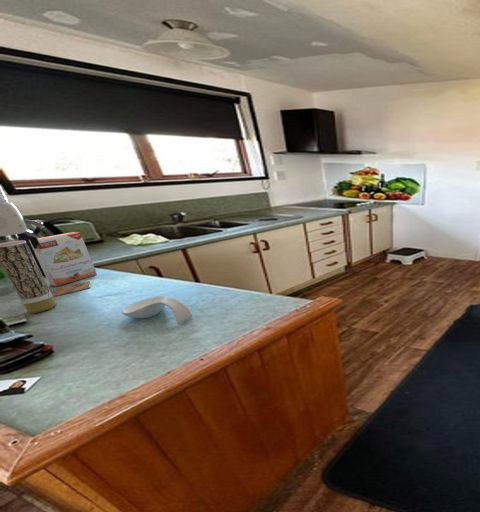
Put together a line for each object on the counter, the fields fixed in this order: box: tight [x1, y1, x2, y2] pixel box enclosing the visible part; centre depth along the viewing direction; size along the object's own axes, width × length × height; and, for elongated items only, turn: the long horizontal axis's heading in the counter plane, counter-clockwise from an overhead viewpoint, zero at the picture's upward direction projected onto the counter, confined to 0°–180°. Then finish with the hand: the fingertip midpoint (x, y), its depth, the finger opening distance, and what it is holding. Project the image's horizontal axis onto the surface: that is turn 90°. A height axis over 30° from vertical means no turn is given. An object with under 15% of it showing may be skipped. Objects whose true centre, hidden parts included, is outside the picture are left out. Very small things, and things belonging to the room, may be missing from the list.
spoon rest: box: [121, 295, 193, 325], centre depth 90 cm, size 24×12×7 cm, turn 73°
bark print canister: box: [0, 240, 57, 314], centre depth 94 cm, size 7×7×25 cm
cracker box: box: [29, 231, 98, 287], centre depth 120 cm, size 14×6×21 cm, turn 161°
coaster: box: [53, 280, 91, 298], centre depth 114 cm, size 10×10×1 cm
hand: (14, 251), depth 91 cm, fingers open, 9 cm apart
